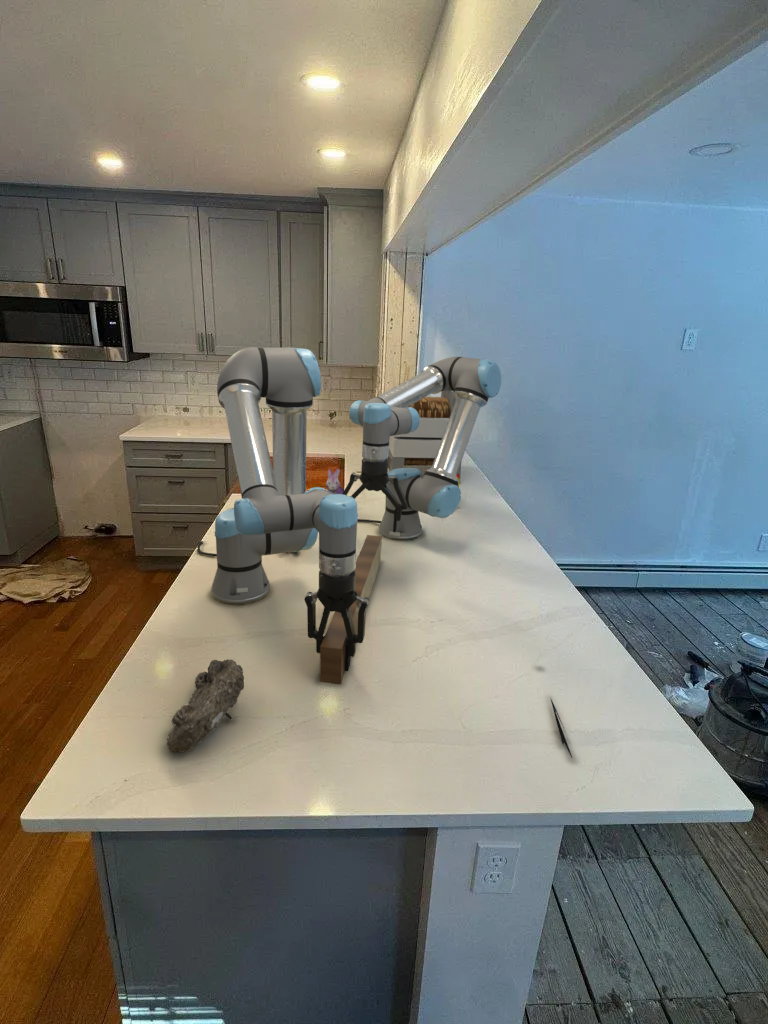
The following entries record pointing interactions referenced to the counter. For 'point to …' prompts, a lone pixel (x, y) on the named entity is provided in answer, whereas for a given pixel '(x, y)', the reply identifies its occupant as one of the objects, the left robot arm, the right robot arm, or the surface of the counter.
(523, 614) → the counter surface
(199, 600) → the counter surface
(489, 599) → the counter surface
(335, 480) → the figurine
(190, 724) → the fossil
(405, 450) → the transformer
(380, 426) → the right robot arm
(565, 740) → the feather
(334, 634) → the post
